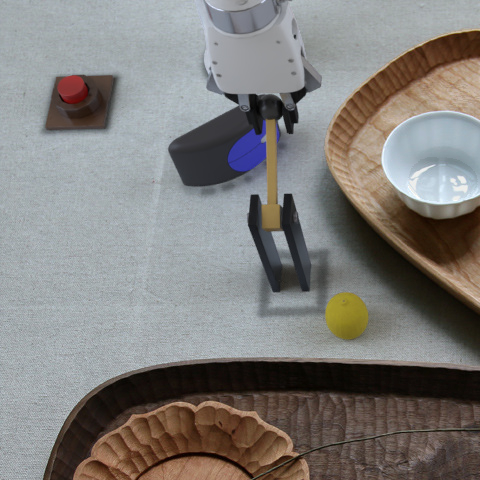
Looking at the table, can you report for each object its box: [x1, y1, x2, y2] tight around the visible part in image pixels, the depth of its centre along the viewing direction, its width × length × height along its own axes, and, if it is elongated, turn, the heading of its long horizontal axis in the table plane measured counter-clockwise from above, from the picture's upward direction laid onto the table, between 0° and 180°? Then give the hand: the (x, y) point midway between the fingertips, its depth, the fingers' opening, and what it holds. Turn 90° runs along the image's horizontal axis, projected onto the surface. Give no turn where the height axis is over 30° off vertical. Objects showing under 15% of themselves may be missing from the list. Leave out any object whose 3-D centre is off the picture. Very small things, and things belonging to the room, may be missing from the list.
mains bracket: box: [246, 192, 312, 293], centre depth 103 cm, size 9×8×17 cm
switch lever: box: [257, 93, 284, 233], centre depth 97 cm, size 16×3×3 cm, turn 0°
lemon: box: [324, 291, 369, 341], centre depth 104 cm, size 6×6×8 cm
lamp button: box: [58, 74, 88, 104], centre depth 122 cm, size 4×4×2 cm
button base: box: [44, 74, 115, 131], centre depth 124 cm, size 10×9×2 cm
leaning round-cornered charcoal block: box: [167, 93, 282, 188], centre depth 114 cm, size 16×5×9 cm, turn 123°
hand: (275, 124), depth 99 cm, fingers closed on switch lever, 3 cm apart
